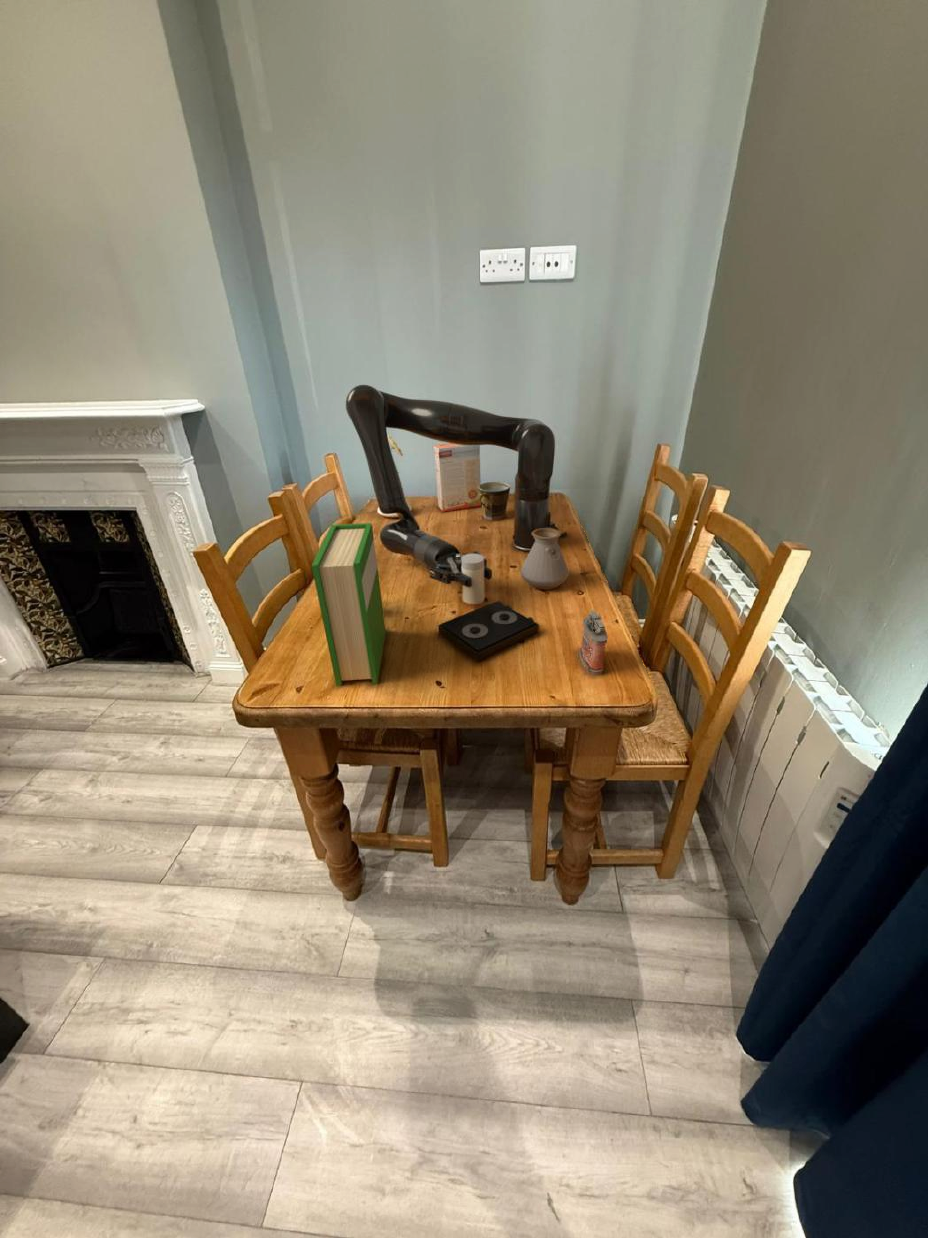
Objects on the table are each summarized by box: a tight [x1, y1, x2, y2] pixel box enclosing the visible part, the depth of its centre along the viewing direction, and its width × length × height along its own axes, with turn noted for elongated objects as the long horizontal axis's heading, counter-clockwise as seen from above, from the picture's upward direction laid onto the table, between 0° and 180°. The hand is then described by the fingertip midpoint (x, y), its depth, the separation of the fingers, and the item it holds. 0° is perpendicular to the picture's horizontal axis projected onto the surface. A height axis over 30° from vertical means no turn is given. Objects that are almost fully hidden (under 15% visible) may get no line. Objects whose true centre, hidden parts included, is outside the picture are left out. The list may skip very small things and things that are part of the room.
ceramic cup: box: [478, 481, 511, 521], centre depth 159 cm, size 13×10×10 cm
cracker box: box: [433, 443, 482, 512], centre depth 167 cm, size 14×6×21 cm, turn 108°
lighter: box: [579, 610, 608, 676], centre depth 92 cm, size 8×3×10 cm, turn 5°
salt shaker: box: [461, 553, 486, 605], centre depth 111 cm, size 5×5×10 cm
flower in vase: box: [376, 433, 413, 518], centre depth 162 cm, size 13×11×25 cm
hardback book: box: [311, 522, 387, 687], centre depth 92 cm, size 18×7×24 cm, turn 3°
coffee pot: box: [520, 528, 570, 590], centre depth 115 cm, size 21×12×15 cm, turn 177°
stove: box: [437, 600, 539, 663], centre depth 104 cm, size 17×13×3 cm
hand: (480, 579), depth 108 cm, fingers closed on salt shaker, 5 cm apart
